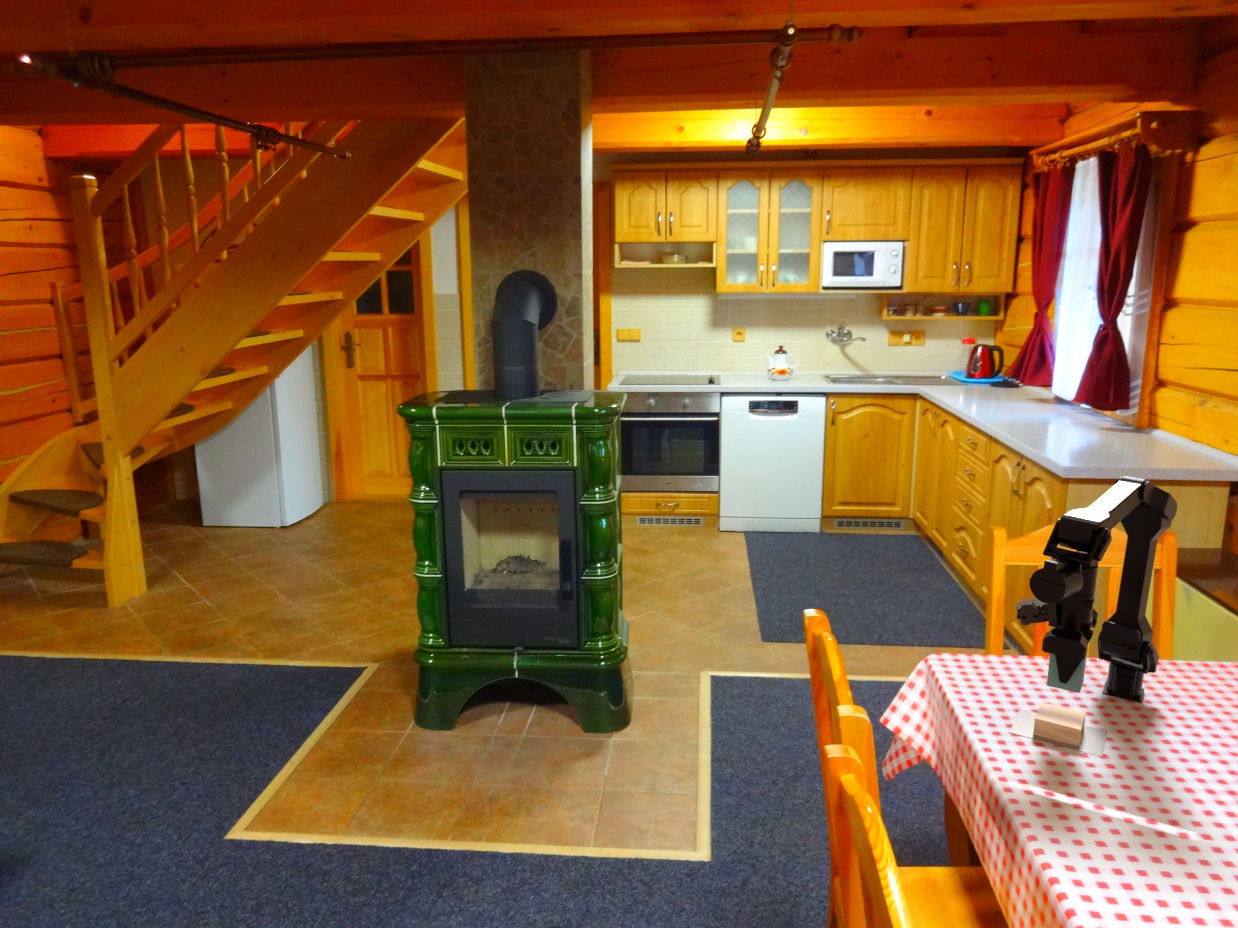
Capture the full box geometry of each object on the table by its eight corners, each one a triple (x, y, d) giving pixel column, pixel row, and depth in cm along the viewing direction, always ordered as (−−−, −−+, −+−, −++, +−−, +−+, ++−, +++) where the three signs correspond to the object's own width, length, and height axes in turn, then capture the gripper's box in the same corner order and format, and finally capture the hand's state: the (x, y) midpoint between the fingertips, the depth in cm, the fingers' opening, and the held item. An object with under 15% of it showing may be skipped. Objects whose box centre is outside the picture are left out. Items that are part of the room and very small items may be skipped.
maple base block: (1039, 717, 155) (1041, 701, 154) (1084, 728, 151) (1085, 712, 150) (1033, 734, 149) (1034, 718, 148) (1078, 746, 145) (1080, 729, 144)
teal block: (1051, 674, 151) (1054, 642, 150) (1083, 681, 149) (1087, 648, 147) (1046, 685, 147) (1050, 652, 146) (1079, 692, 145) (1083, 659, 143)
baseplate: (1019, 711, 158) (1020, 708, 158) (1107, 733, 150) (1107, 730, 150) (1009, 735, 150) (1009, 732, 150) (1101, 759, 142) (1101, 756, 142)
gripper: (1032, 565, 156) (1023, 646, 160) (1012, 596, 141) (1003, 685, 145) (1102, 577, 150) (1092, 661, 154) (1089, 610, 135) (1078, 703, 138)
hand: (1065, 676), depth 148 cm, fingers closed on teal block, 5 cm apart
